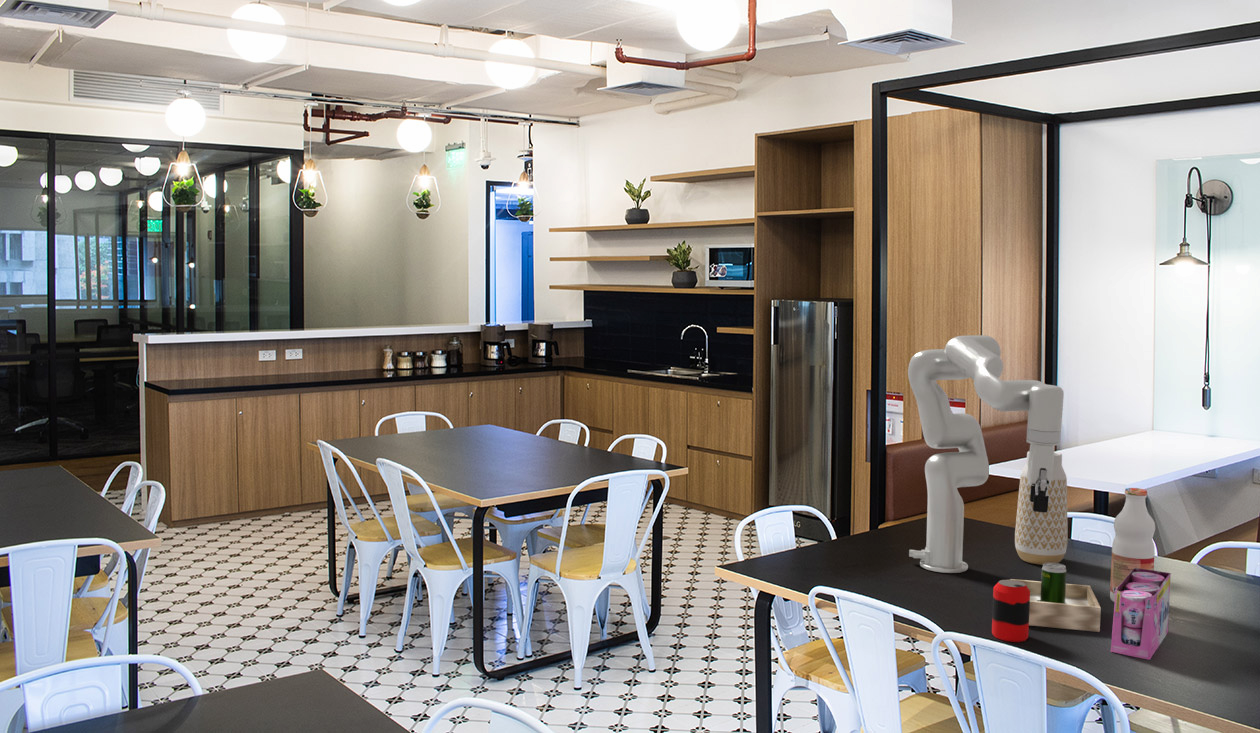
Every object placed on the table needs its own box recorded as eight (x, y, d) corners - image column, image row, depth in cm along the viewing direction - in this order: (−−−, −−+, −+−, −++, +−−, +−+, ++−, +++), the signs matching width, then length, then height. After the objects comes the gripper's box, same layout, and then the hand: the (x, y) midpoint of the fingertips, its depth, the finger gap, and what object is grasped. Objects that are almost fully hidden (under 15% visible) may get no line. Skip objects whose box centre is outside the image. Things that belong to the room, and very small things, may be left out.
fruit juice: (1107, 594, 262) (1112, 484, 260) (1148, 598, 259) (1154, 487, 257) (1112, 605, 253) (1117, 491, 251) (1155, 609, 250) (1161, 494, 248)
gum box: (1150, 662, 215) (1153, 598, 214) (1108, 654, 220) (1111, 591, 219) (1168, 631, 234) (1171, 572, 233) (1130, 624, 239) (1133, 566, 238)
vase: (1076, 562, 292) (1081, 454, 289) (1047, 570, 284) (1051, 458, 281) (1033, 551, 303) (1037, 447, 300) (1003, 558, 295) (1007, 451, 293)
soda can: (1009, 644, 225) (1011, 589, 224) (984, 633, 232) (986, 580, 231) (1035, 639, 228) (1038, 586, 227) (1010, 629, 235) (1012, 577, 234)
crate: (1014, 623, 239) (1015, 600, 238) (1009, 600, 256) (1010, 578, 255) (1099, 631, 234) (1100, 607, 233) (1089, 608, 251) (1089, 585, 250)
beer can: (1055, 620, 241) (1057, 569, 240) (1034, 614, 246) (1037, 564, 245) (1069, 616, 244) (1071, 566, 243) (1048, 610, 249) (1051, 561, 248)
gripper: (1024, 429, 258) (1019, 497, 260) (1029, 442, 241) (1024, 514, 243) (1057, 431, 255) (1052, 500, 257) (1064, 444, 239) (1058, 517, 241)
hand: (1038, 506), depth 250 cm, fingers open, 9 cm apart
